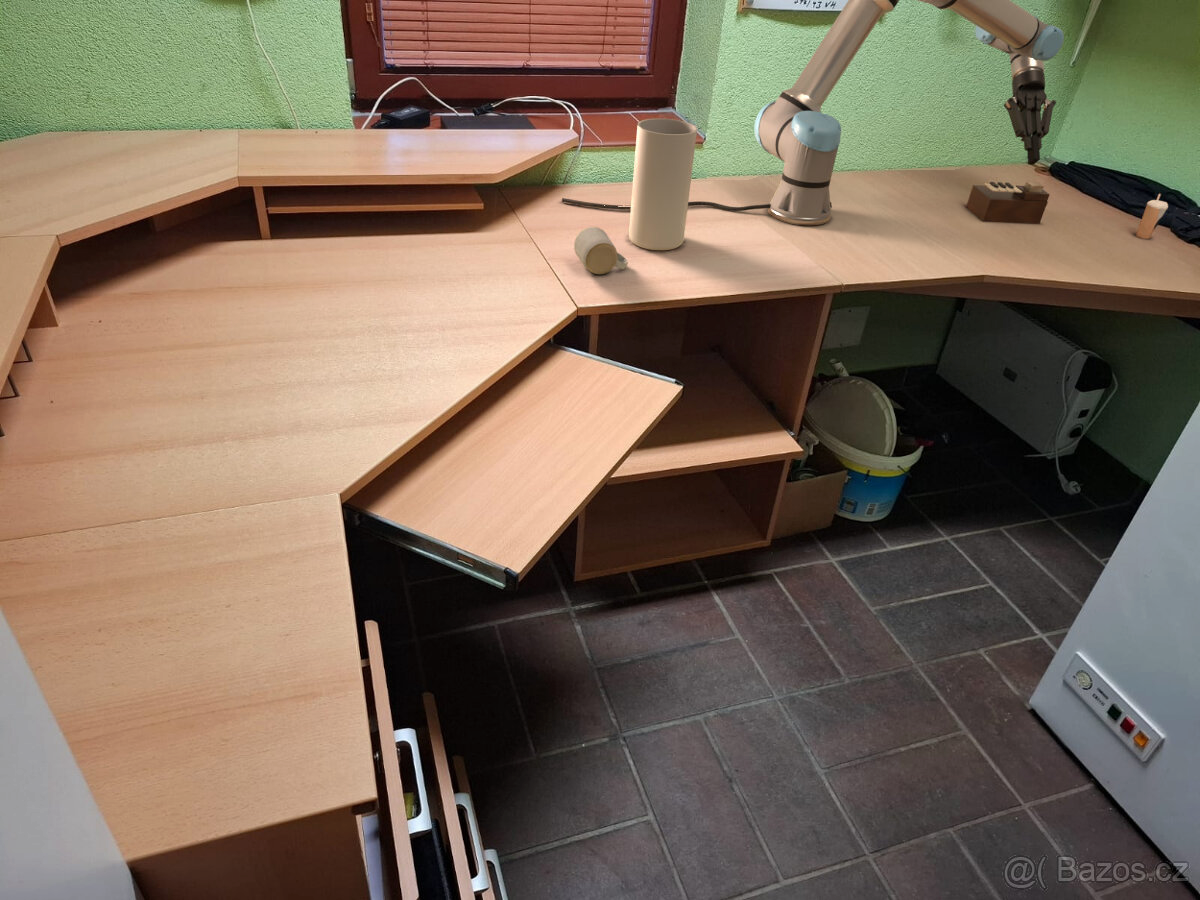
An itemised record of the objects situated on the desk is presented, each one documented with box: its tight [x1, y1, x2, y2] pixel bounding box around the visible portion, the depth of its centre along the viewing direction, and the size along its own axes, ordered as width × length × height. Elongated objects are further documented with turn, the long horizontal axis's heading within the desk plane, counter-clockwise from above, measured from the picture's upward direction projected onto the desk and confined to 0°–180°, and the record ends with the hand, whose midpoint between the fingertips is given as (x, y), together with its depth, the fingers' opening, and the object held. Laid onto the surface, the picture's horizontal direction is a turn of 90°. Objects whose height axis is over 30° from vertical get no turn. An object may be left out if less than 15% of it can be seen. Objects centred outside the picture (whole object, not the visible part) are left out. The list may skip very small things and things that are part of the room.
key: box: [1023, 181, 1045, 193], centre depth 206 cm, size 3×3×2 cm
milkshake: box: [1135, 193, 1169, 240], centre depth 203 cm, size 5×5×10 cm
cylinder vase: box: [628, 118, 698, 251], centre depth 177 cm, size 12×12×25 cm
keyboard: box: [983, 181, 1022, 193], centre depth 206 cm, size 8×5×1 cm
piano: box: [965, 184, 1051, 225], centre depth 210 cm, size 15×11×8 cm
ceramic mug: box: [573, 226, 629, 275], centre depth 168 cm, size 11×8×8 cm
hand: (1034, 161), depth 207 cm, fingers closed
